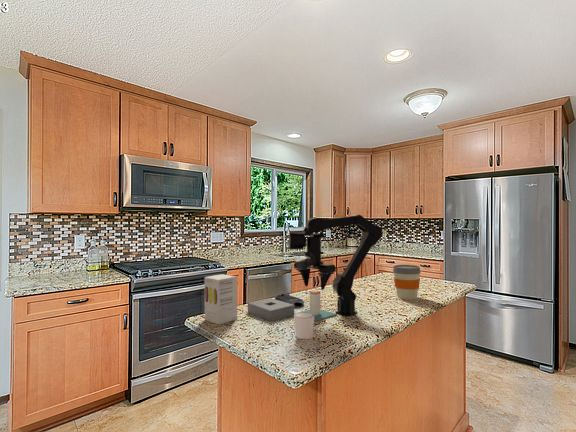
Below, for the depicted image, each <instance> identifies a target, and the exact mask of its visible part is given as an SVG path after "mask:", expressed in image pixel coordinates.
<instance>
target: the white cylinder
mask: <svg viewBox="0 0 576 432" xmlns="http://www.w3.org/2000/svg"><path fill="white" fill-rule="evenodd" d="M300 312H301V313H298V312H295V313H296V314H295V313H294V315H293V321H294V330H295V337H296V338H297V339H299V340H311V339H312V338H313V337H314V326H315V322H314V314H312V313H307V312H302V311H300Z"/></svg>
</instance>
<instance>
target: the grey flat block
mask: <svg viewBox="0 0 576 432" xmlns="http://www.w3.org/2000/svg"><path fill="white" fill-rule="evenodd" d="M294 305H295V304H294ZM294 305H293V304H289V303H286V302H283V301H279V300H276V299H275V298H272V297H269V298H263V299H259V300H255V301H250V302H247V313H249V314H250V315H253V316H256V317H259V318H261V319H264V320H267V321H269V322H272V321H277V320H281V319H283V318H287V317H291V316H294V314H295V308H294Z"/></svg>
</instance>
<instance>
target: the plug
mask: <svg viewBox="0 0 576 432" xmlns="http://www.w3.org/2000/svg"><path fill="white" fill-rule="evenodd" d="M309 310H310V313H312V314H314V315H318V314H321V310H322V309H321V291H319V290H311V291H309Z"/></svg>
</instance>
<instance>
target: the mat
mask: <svg viewBox="0 0 576 432" xmlns="http://www.w3.org/2000/svg"><path fill="white" fill-rule="evenodd" d="M301 312H307V313H310V309H307V310H302V311H299V312H294V314H296V313H301ZM335 316H337V313H336V312H335V313H334V312H330V311H327V310H324V309H321V314H318V315H314V323H317V322H319V321H323V320H325V319H328V318H329V319H330V318H333V317H335Z"/></svg>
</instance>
